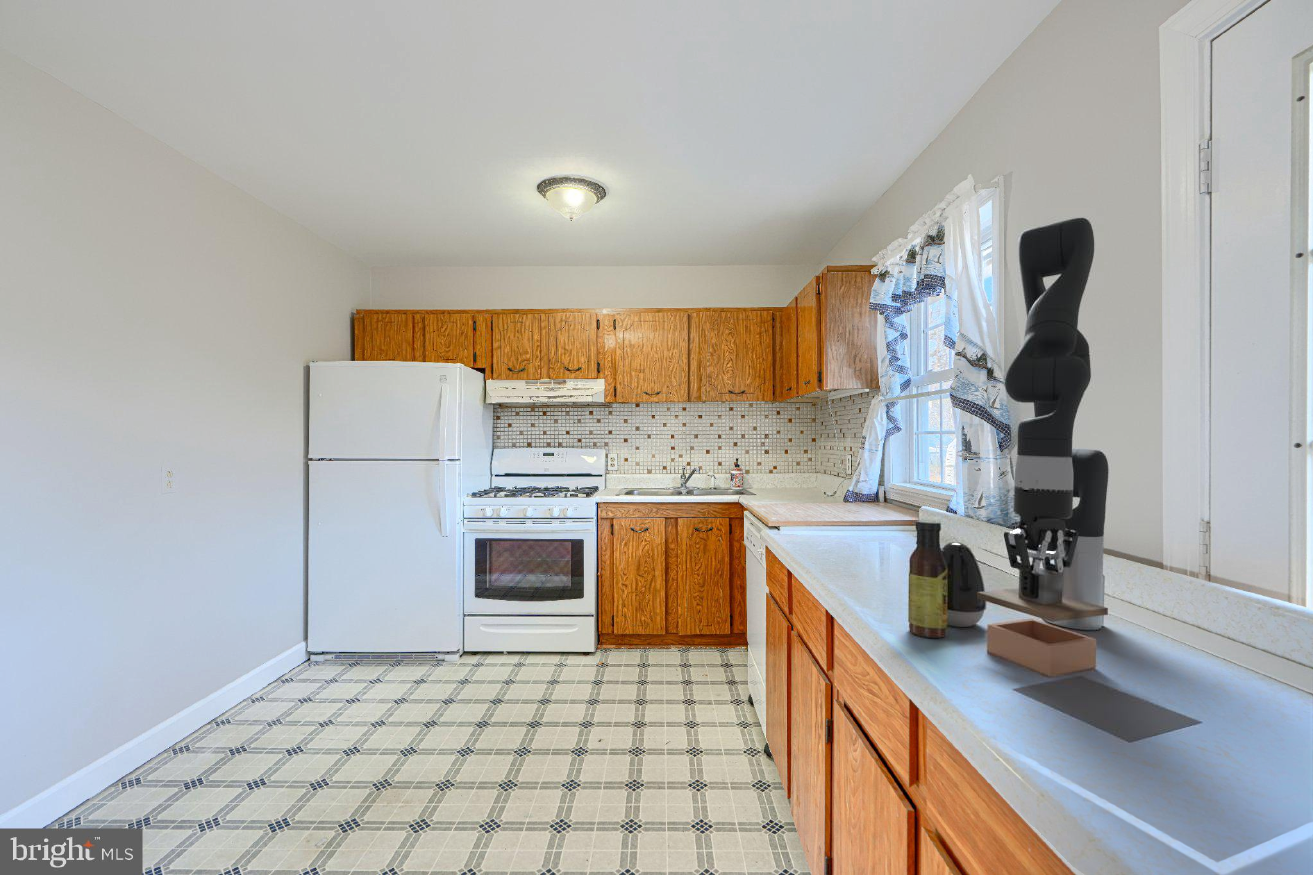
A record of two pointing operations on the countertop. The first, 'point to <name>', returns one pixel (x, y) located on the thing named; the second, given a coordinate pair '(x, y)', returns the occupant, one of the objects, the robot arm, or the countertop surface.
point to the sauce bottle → (927, 583)
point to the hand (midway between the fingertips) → (1040, 595)
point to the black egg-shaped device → (963, 586)
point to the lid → (1044, 600)
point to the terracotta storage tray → (1041, 647)
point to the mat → (1107, 708)
